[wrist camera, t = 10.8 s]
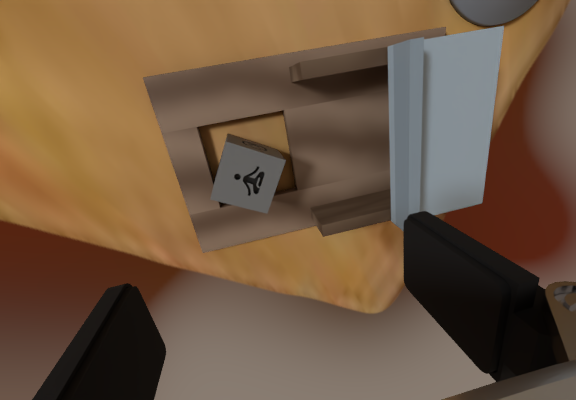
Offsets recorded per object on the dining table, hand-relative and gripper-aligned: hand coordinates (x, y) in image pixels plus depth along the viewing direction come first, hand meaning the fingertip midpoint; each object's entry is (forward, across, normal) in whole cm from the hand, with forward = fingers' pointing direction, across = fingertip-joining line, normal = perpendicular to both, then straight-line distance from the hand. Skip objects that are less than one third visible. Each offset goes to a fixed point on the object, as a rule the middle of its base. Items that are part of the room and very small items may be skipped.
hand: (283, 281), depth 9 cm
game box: (+19, -6, 0) cm, 20 cm away
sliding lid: (+14, -16, 0) cm, 21 cm away
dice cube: (+19, +1, 0) cm, 19 cm away
